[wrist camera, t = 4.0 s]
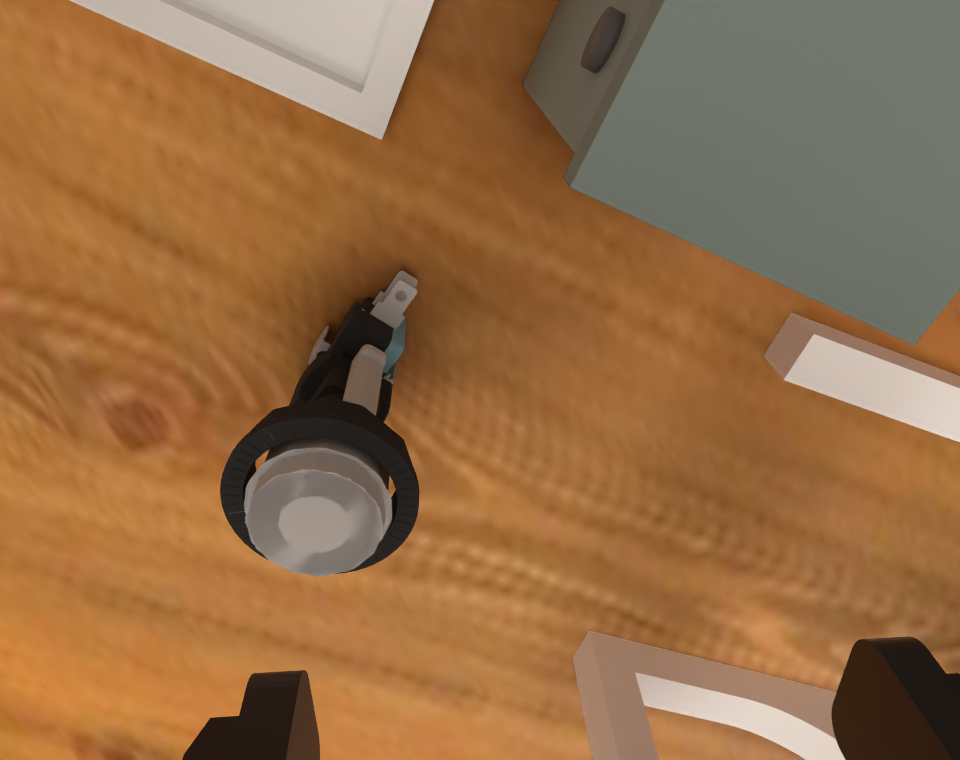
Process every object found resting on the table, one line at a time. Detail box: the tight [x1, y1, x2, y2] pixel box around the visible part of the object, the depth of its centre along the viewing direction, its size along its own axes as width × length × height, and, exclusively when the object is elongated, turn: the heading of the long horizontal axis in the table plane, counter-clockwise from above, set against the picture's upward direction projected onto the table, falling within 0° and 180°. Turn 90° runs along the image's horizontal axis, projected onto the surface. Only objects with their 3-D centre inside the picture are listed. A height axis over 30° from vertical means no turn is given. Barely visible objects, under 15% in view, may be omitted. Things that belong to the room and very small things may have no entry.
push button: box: [220, 270, 419, 576], centre depth 23 cm, size 7×5×10 cm
